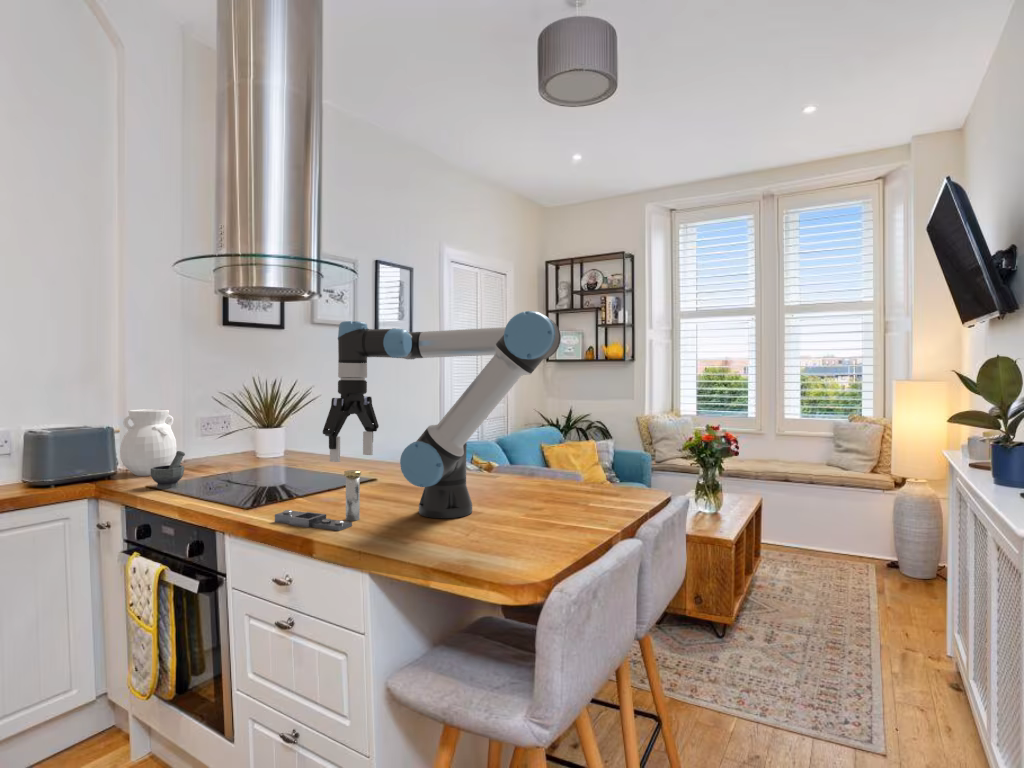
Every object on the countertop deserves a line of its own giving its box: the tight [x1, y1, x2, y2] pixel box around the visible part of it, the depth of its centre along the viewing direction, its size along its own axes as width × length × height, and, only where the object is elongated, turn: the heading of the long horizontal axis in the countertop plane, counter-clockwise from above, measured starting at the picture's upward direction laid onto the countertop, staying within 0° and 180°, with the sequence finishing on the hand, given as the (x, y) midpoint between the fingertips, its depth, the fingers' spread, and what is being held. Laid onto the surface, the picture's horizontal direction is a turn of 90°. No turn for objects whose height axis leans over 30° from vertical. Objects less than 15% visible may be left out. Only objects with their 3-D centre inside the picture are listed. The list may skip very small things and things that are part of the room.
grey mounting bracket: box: [274, 509, 353, 532], centre depth 147 cm, size 21×6×3 cm, turn 67°
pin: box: [343, 469, 362, 522], centre depth 152 cm, size 4×4×13 cm
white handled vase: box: [119, 408, 177, 477], centre depth 219 cm, size 19×18×25 cm
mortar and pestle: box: [150, 450, 186, 490], centre depth 195 cm, size 11×9×12 cm
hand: (352, 458), depth 152 cm, fingers open, 13 cm apart
